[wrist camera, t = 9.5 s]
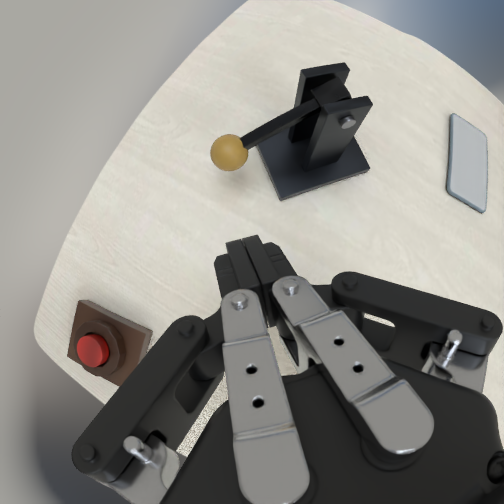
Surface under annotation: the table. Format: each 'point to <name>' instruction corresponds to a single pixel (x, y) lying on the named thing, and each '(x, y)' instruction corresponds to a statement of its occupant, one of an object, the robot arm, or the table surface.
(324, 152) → the latch bracket
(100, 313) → the block
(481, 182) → the smartphone
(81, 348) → the release button
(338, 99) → the latch lever
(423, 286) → the table surface
